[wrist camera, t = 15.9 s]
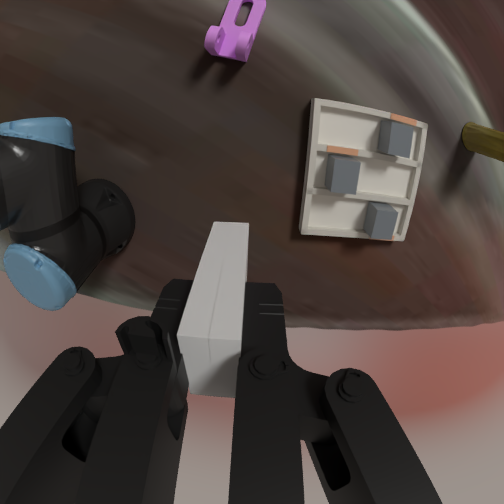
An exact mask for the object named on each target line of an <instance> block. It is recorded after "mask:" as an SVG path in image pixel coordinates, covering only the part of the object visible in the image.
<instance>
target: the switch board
mask: <svg viewBox="0 0 504 504" xmlns="http://www.w3.org/2000/svg"><path fill="white" fill-rule="evenodd" d="M381 120H384V121H391V122H395V123H399V124H403V125H406V126H410V127H413V128H414V130H413V138H412V145H411V152H410V158H405V157H400V156H396V155H391V154H387V153H385V152H382V151H380V150H377V148H378V140H379V132H380V123H381ZM427 126H428V124H426V123H423V122H420V121H417V120H414V119H410V118H407V117H404V116H400V115H396V114H393V113H389V112H385V111H381V110H376V109H372V108H368V107H363V106H358V105H353V104H348V103H343V102H337V101H331V100H324V99H317V98H313V99H311V110H310V123H309V136H308V147H307V158H306V168H305V177H304V187H303V196H302V204H301V213H300V221H299V230H300V233H301V234H305V235H322V236H338V237H352V238H367V239H371V238H370V237H369V235H368V234H367V233H366V231H365V230H364V229H363V226H364V221H365V217H366V212H367V207H368V202H369V201H370V202H378V203H386V204H389V205H390V206H392V207H393V208H394V209H395V210H396V211H397V212H399V213H398V217H397V221H396V225H395V229H394V232H393V236H392V240H387V241H404V239H405V235H406V232H407V228H408V224H409V221H410V217H411V213H412V209H413V205H414V201H415V196H416V192H417V187H418V182H419V177H420V172H421V167H422V161H423V155H424V149H425V142H426V134H427ZM328 154H331V155H338V156H346V157H352V158H354V159H356V160H358V161H359V162H361V165H360V172H359V178H358V185H357V191H356V195H353V194H344V193H335V192H330V191H329V190H328V188H327V187H326V186H325V185H324V184H325V176H326V168H327V160H328ZM374 240H383V239H374Z"/></svg>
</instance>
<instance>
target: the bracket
mask: <svg viewBox="0 0 504 504" xmlns="http://www.w3.org/2000/svg"><path fill="white" fill-rule="evenodd" d="M245 2H251V3H252V4H253V7H252V9H251V12H250V15H249V17H248V20H247V22H246V24H245V25H244V26H241V27H239V26H236V25H235V21H236V19H237V16H238V14H239V11H240V9H241V6H242V4H243V3H245ZM265 9H266V1H265V0H230V1H229V3H228V6H227V8H226V11H225V13H224V16H223V18H222V21H221V23H220V26H219V27H218V26H211V27H210V28H209V30H208V32H207V35H206V38H205V48H206V50H207V51H208V52H209V53H210V54H211V55H214V56H220V57H225V58H230V59H235V60H239V61H243V62H247V59H248V56H249V53H250V50H251V47H252V44H253V41H254V39H255V36H256V33H257V30H258V28H259V25H260V22H261V20H262V17H263V14H264V12H265Z"/></svg>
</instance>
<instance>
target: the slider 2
mask: <svg viewBox="0 0 504 504" xmlns="http://www.w3.org/2000/svg"><path fill="white" fill-rule="evenodd" d="M413 130H414V128H413V127H410V126H406V125H403V124H399V123H395V122H391V121H384V120H381V123H380V132H379V140H378V148H377V150H380V151H382V152H385V153H387V154H391V155H396V156H400V157H405V158H410V152H411V145H412V138H413Z"/></svg>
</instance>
